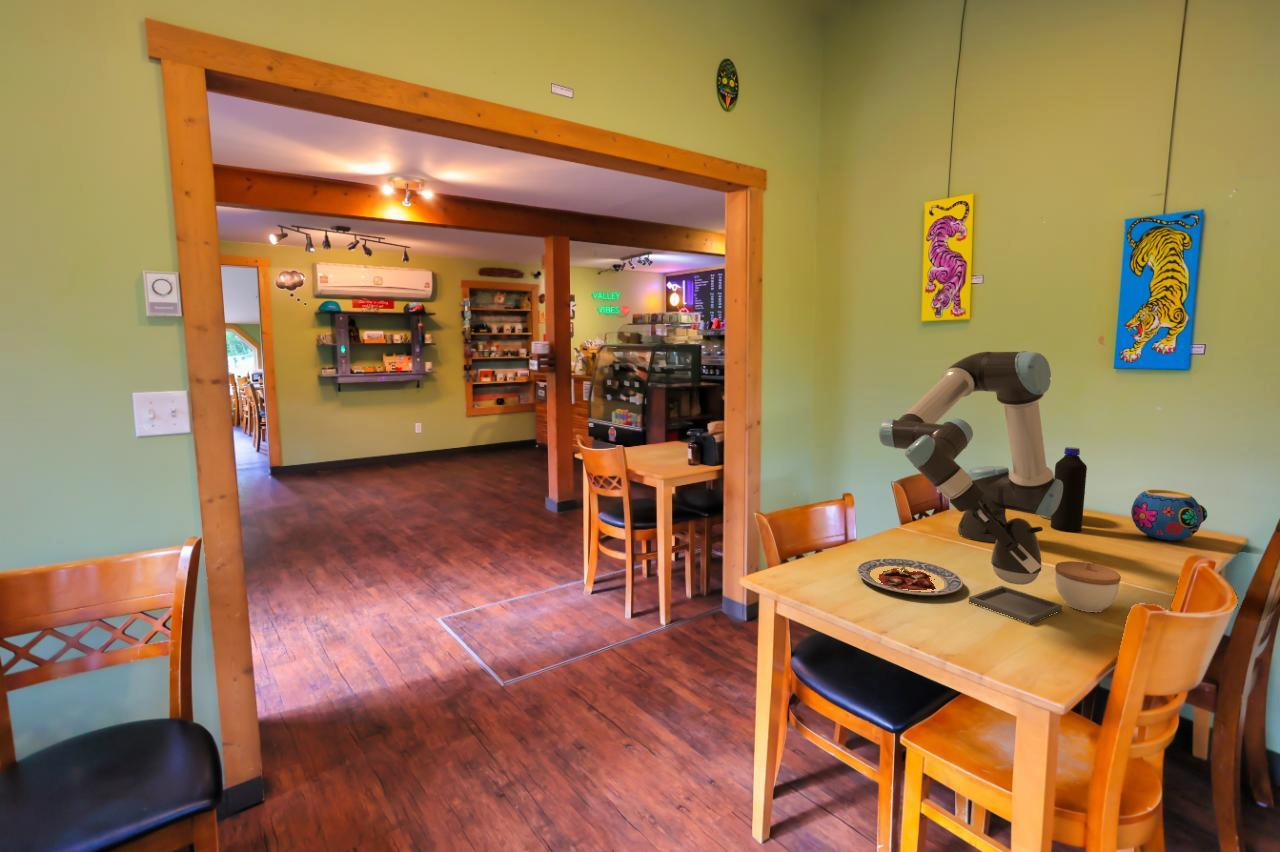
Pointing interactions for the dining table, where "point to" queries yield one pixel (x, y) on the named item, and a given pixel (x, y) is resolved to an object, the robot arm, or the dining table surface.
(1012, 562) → the pump dispenser
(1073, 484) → the bottle
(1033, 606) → the tray
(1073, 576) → the lidded bowl
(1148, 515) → the ceramic pot
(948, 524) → the dining table surface
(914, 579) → the ceramic plate
